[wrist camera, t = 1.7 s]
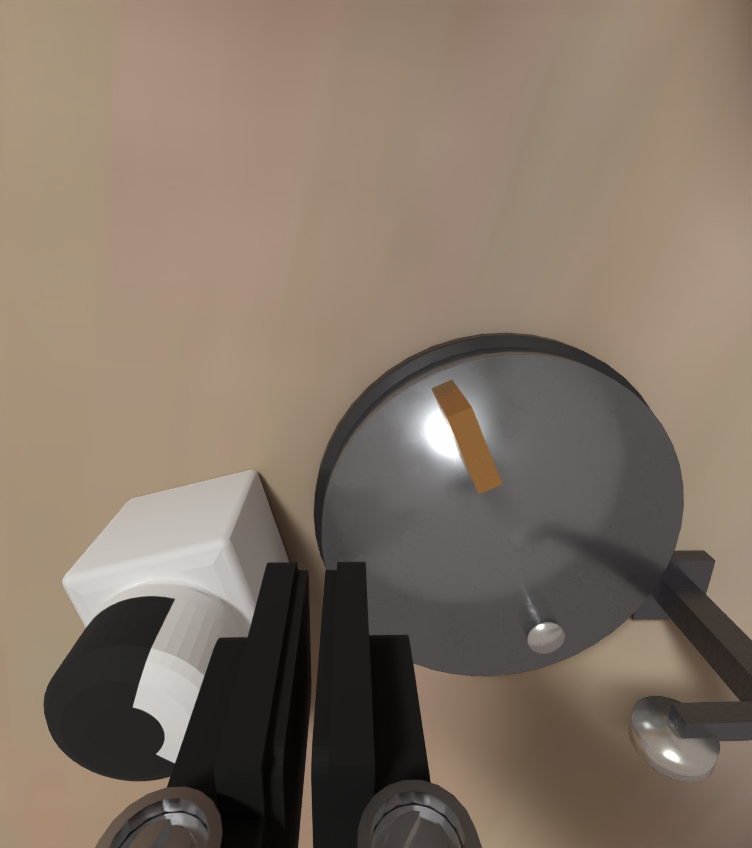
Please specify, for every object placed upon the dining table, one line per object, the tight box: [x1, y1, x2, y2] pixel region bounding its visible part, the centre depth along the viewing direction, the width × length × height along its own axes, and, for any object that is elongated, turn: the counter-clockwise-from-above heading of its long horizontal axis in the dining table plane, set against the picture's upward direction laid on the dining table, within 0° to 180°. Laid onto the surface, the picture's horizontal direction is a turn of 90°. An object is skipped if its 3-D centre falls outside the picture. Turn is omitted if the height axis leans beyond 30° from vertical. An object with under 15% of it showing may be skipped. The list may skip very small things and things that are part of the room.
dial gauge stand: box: [629, 551, 752, 782], centre depth 25 cm, size 4×9×11 cm, turn 89°
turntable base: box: [314, 333, 651, 567], centre depth 28 cm, size 19×19×1 cm
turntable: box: [322, 347, 684, 676], centre depth 25 cm, size 18×18×6 cm
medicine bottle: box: [44, 470, 289, 781], centre depth 23 cm, size 7×7×12 cm
